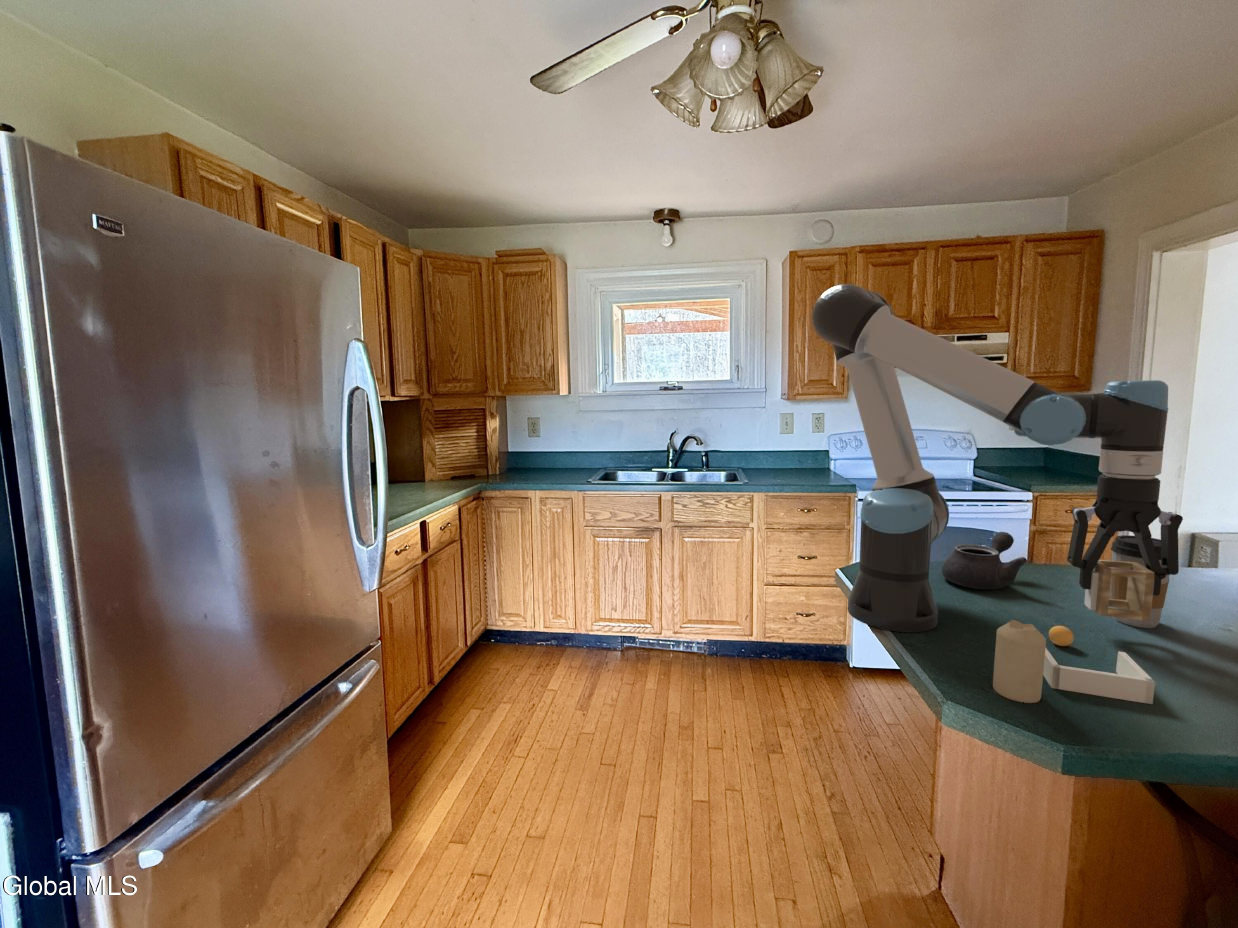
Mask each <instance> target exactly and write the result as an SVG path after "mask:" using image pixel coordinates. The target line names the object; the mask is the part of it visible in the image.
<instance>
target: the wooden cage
mask: <svg viewBox="0 0 1238 928" xmlns="http://www.w3.org/2000/svg"><path fill="white" fill-rule="evenodd" d="M1112 567H1114V568H1126V569H1129V570H1126V569H1114V568H1112ZM1094 570H1095V571H1096V572H1098V573H1099V579H1098V590H1097V602H1096V610H1093V611H1094V612H1096V614H1098V615H1099V616H1100V617H1101V616H1103V617H1109V618H1110V617H1112V618H1113V617H1118V618H1128V619H1137V620H1146V621H1150V615H1151V605H1152V595H1153V584H1154V574H1155V573H1154V572H1152V571H1150V570H1149V569H1147V568H1145V567H1144V566H1142V565H1141V564H1139V563H1137V562H1125V561H1112V559H1111V560H1109V559H1099V561H1098V563H1097V564H1096V566H1095V568H1094ZM1111 576H1123V577H1128V584H1127V595H1126V600H1120V599H1111V598H1110V594H1111ZM1111 607H1118V608H1128V609H1129V610H1124V609H1114V608H1111Z"/></svg>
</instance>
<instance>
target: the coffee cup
mask: <svg viewBox="0 0 1238 928" xmlns="http://www.w3.org/2000/svg"><path fill="white" fill-rule="evenodd" d="M1151 539H1152V542H1153V545H1154V547H1155V550H1156V553H1157V556H1158V559H1159V562H1160V565H1161V538H1160V539H1159V538H1153V537H1151ZM1110 550H1111V560H1112V561H1125V562H1137V563H1139V564H1141V565H1142V566H1144V567H1145V568H1146V566H1145V563H1144V561H1143V558H1142V555H1141V552H1140V549H1139V546H1138V543H1137V540H1136V537H1135V535H1129V534H1127V535H1116V536H1115V539H1114V541H1112V542H1111V548H1110ZM1111 568H1114V567H1111ZM1114 569H1126V568H1114ZM1126 570H1129V569H1126ZM1170 576H1171V574H1170V575H1166V577H1165V578H1164V579H1161V589H1160V594H1159V595H1158V596H1155V595H1153V597H1152V607H1151V616H1150V621H1146V620H1137V619H1128V618H1118V617H1112V618H1113V619H1114V620H1115V621H1118V622H1119V623H1122V624H1125V625H1128V626H1133V627H1137V628H1143V629H1144V628H1146V629H1153V628H1156V627H1157V625H1159V624H1160V623H1161V622H1160V621H1161V617H1162V611H1163V608H1164V605H1165V601H1166V596H1167V593H1168V588H1169V583H1170ZM1127 584H1128V577H1123V576H1111V582H1110V599H1120V600H1126V595H1127ZM1110 608H1114V609H1124V610H1129V609H1128V608H1118V607H1110Z"/></svg>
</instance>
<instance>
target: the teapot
mask: <svg viewBox="0 0 1238 928" xmlns="http://www.w3.org/2000/svg"><path fill="white" fill-rule="evenodd" d="M1014 542H1015V539H1014V537H1013V536H1012V535H1011V534H1010V533H1009V532H1007V531H999V532H997V533H996V534H995V535H994V536H993V538H992V541H991V547H988V546H984V545H983V546H982V545H978V544H977V545H975V544H959V545H956V546H954V549H953V550H954V551H953V552H952V553H951V554H950V555H949V556H948V557H947V558H946V560H945V561H944V562H943V565H942V568H941V575H942V576H943V578H944V579H946V580H947V581H949V582H951V583H954V584H957V585H958V586H959V585H960V586H962V587H966V588H970V589H975V590H996V589H1001V588H1004V587H1006V586H1008V585H1011V584H1013V583H1014V582H1015V580H1016V578H1017V574H1018V572H1019V571H1020V569H1021V568H1022V566H1024V565H1026V564H1028V562H1029V561H1028V560H1027V558H1026V557H1024V556H1021V557H1017V558H1014V559H1012V560H1010V561H1007V562H1002V560H1001V559H1000V554H1002V553H1004V552H1005V551H1008V550H1010V549H1011V548H1012V546H1013V544H1014Z"/></svg>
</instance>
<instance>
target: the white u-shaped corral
mask: <svg viewBox="0 0 1238 928" xmlns="http://www.w3.org/2000/svg"><path fill="white" fill-rule="evenodd" d="M1117 651H1118V650H1117ZM1115 672H1116V673H1113V672H1108V671H1100V670H1093V669H1089V668H1088V669H1086V668H1079V667H1075V666H1065V665H1060V664H1058V662H1057V661H1056V659H1055V658H1054V657H1053V655H1052V654H1051V652H1050V651H1049V650H1048V648H1046V649H1045V660H1044V671H1043V678H1044V679H1045V680H1046V682H1047V684H1048V686H1050V688H1051V689H1056V690H1062V691H1068V692H1073V693H1074V692H1075V693H1081V694H1087V695H1092V696H1098V697H1105V698H1111V699H1118V700H1124V701H1131V702H1134V703H1136V702H1137V703H1143V704H1149V705H1153V704H1154V694H1155V686H1156V681H1155V680H1154V678H1152V677H1151V676H1150V675H1149V674H1148V673H1147V672H1146V671H1145V670H1144V669H1142V667H1141V666H1139V664H1138V663H1136V662H1135V660H1134V659H1132V658H1131V657H1130V656H1129V654H1127V652H1124V651H1118V652H1117V658H1116V668H1115Z"/></svg>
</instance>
